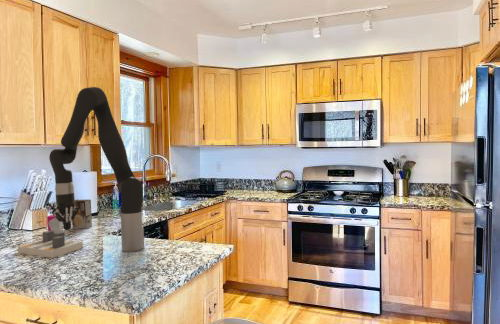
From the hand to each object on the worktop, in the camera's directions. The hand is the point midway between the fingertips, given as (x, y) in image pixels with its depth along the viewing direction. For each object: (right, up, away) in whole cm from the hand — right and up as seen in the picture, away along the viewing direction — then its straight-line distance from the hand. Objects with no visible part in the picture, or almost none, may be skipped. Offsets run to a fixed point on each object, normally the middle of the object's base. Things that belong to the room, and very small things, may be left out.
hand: (67, 229), depth 167 cm
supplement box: (-19, -9, +25) cm, 33 cm away
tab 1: (-12, -7, +7) cm, 16 cm away
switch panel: (-8, -9, 0) cm, 12 cm away
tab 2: (-6, -7, +4) cm, 10 cm away
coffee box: (-15, -7, +46) cm, 49 cm away
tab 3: (-2, -8, -4) cm, 9 cm away
